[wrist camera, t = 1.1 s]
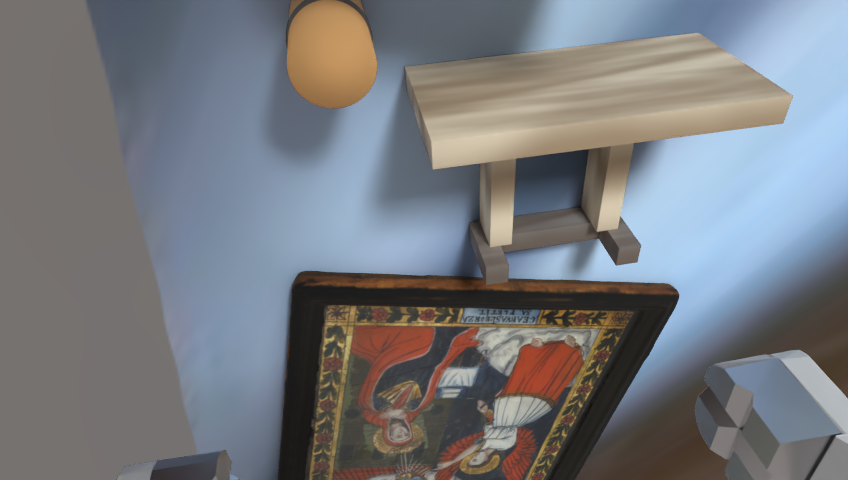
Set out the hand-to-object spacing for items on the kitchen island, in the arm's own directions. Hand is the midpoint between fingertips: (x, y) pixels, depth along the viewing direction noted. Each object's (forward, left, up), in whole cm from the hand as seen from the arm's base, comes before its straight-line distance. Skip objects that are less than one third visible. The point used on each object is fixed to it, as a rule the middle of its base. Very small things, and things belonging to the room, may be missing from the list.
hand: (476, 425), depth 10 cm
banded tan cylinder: (+2, -2, -27) cm, 27 cm away
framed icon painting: (+40, +4, -28) cm, 49 cm away
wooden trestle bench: (+12, +11, -27) cm, 32 cm away
